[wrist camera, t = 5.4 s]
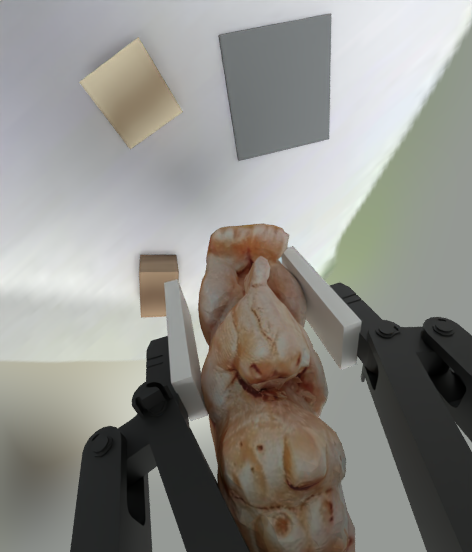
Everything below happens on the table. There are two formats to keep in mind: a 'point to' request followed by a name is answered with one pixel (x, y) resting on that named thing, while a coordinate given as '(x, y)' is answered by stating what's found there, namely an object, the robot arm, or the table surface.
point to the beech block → (132, 94)
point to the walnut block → (155, 282)
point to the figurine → (269, 399)
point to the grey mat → (278, 84)
